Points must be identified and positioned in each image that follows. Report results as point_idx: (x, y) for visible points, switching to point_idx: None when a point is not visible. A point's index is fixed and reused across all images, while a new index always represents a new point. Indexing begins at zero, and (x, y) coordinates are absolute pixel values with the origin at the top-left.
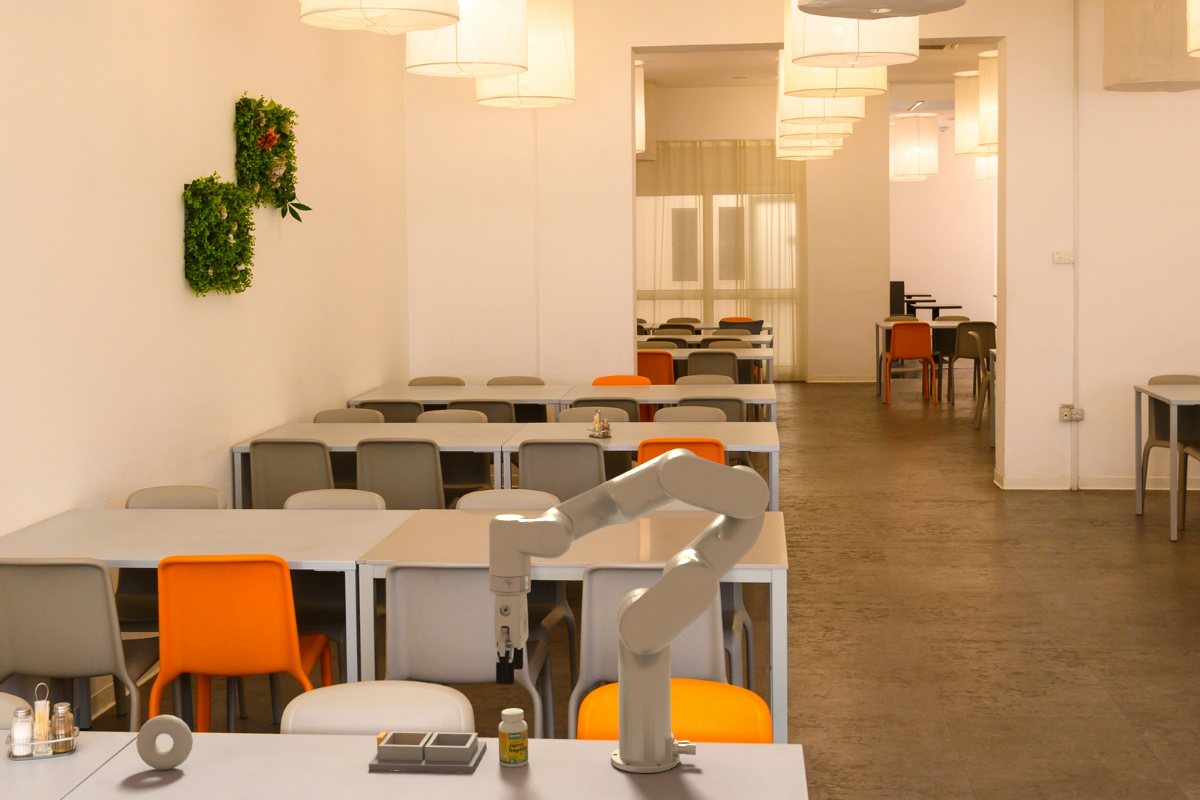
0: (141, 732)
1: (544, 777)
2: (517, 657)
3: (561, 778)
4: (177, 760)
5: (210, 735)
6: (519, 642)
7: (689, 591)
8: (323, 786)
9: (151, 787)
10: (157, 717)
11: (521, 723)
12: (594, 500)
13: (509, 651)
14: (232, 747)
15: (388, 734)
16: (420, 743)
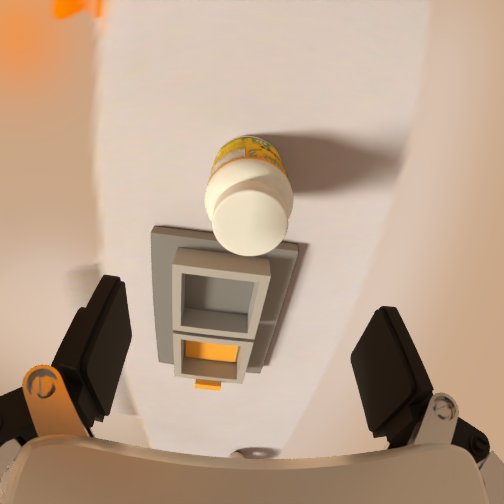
0: None
1: (348, 104)
2: (108, 344)
3: (360, 69)
4: (243, 457)
5: (155, 443)
6: (481, 481)
7: None
8: (304, 389)
9: (275, 451)
10: None
11: (267, 182)
12: None
13: (108, 398)
14: (183, 437)
15: (190, 377)
16: (235, 345)
